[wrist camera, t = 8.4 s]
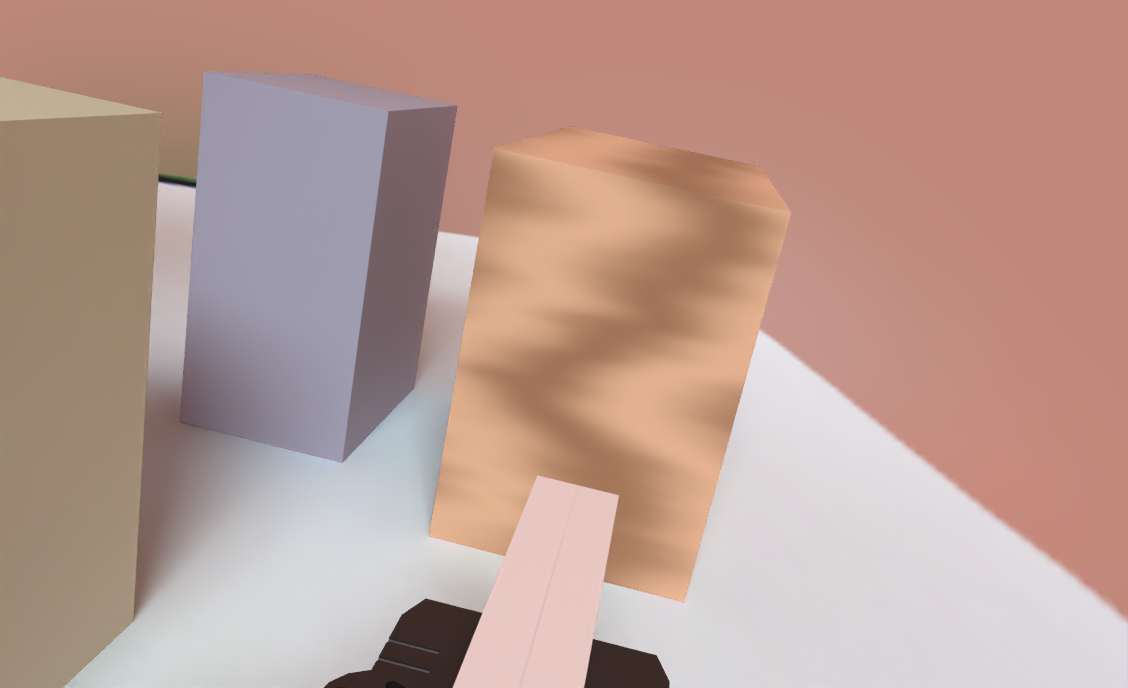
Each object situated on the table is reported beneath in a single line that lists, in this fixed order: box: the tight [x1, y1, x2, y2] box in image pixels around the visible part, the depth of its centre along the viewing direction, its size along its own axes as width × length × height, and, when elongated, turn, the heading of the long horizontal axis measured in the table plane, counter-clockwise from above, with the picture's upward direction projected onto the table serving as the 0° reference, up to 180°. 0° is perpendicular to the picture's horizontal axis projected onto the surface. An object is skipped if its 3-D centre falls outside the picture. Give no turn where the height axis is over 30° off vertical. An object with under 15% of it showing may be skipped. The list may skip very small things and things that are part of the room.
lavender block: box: [180, 71, 457, 463], centre depth 33 cm, size 6×8×12 cm
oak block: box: [429, 126, 791, 602], centre depth 32 cm, size 8×14×12 cm, turn 171°
